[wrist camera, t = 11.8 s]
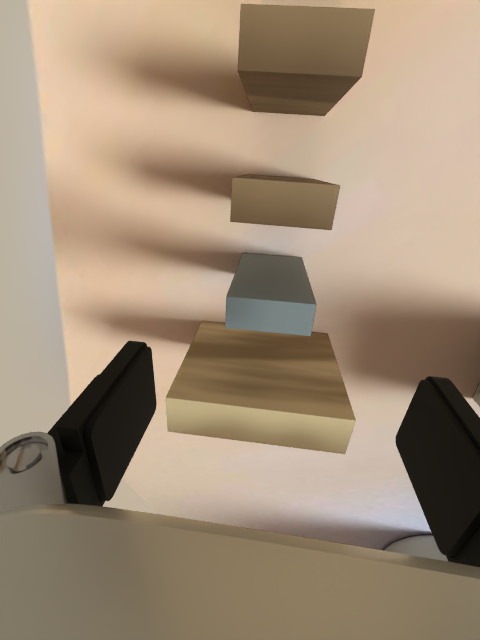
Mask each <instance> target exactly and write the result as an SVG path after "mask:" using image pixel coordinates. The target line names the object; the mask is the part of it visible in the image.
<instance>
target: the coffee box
mask: <svg viewBox="0 0 480 640" xmlns="http://www.w3.org/2000/svg"><path fill="white" fill-rule="evenodd" d="M473 399H474V401H475V402H476V403H477V404H478V405H479V406H480V384H479V386H478V388H477V390H476V393H475V395H474V397H473Z"/></svg>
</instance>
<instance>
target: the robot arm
mask: <svg viewBox="0 0 480 640" xmlns="http://www.w3.org/2000/svg"><path fill="white" fill-rule="evenodd" d="M155 410H156V393H155V383H154V372H153V361H152V351H151V348H150V347H147V345H146V343H145V342H137V341H128V342H127V343H126V344H125V345H124V347H123V348H122V349H121V350H120V351H119V353H118V354H117V355H116V356H115V357H114V359H113V360H112V361H111V362H110V363H109V364H108V366H107V367H106V368H105V369H104V370H103V372H102V373H101V374H99V375H97V376H96V377H95V378H94V379H93V380H92V382H91V383H90V384H89V385H88V386H87V387H86V389H85V390H84V391H83V392H82V393H81V394H80V396H79V397H78V398H77V399H76V400H75V401H74V403H73V404H72V405H71V406H70V407H69V408H68V410H67V411H66V412H65V413H64V414H63V415H62V417H61V418H60V419H59V420H58V421H57V422H56V424H55V425H54V426H53V427H52V428H51V430H50V431H49V432H48V433H43V432H30V433H26V434H22V435H20V436H17V437H15V438H13V439H11V440H9V441H8V442H6V443H5V444H3V445H2V446H1V447H0V640H480V418H479V417H478V415H477V414H476V413H475V411H474V410H473V409H472V408H471V406H470V405H469V404H468V402H467V401H466V400H465V398H464V397H463V396H462V395H461V393H460V392H459V391H458V389H457V388H456V387H455V386H454V384H453V383H452V382H451V381H450V380H449V379H447V378H439V377H431V376H429V377H427V378H426V379H425V380H421V381H420V383H419V385H418V387H417V389H416V392H415V394H414V396H413V398H412V401H411V403H410V405H409V408H408V410H407V412H406V414H405V417H404V419H403V421H402V423H401V426H400V428H399V430H398V433H397V435H396V446H397V448H398V451H399V453H400V456H401V458H402V461H403V463H404V466H405V468H406V471H407V473H408V475H409V478H410V480H411V483H412V485H413V488H414V490H415V493H416V495H417V498H418V500H419V502H420V505H421V507H422V510H423V512H424V515H425V517H426V520H427V522H428V525H429V527H430V529H431V532H432V534H433V537H434V539H435V542H436V544H437V547H438V549H439V551H440V552H441V553H442V554H443V555H446V557H447V560H448V561H442V560H436V559H430V558H424V557H418V556H412V555H407V554H401V553H395V552H389V551H383V550H377V549H371V548H365V547H359V546H353V545H347V544H341V543H335V542H328V541H322V540H316V539H310V538H304V537H298V536H292V535H285V534H279V533H273V532H267V531H261V530H254V529H248V528H242V527H236V526H229V525H223V524H217V523H210V522H204V521H197V520H191V519H185V518H178V517H172V516H166V515H159V514H152V513H145V512H138V511H131V510H124V509H116V508H109V507H102V506H103V504H104V502H105V501H109V500H111V498H112V497H113V495H114V493H115V491H116V489H117V487H118V485H119V483H120V481H121V479H122V477H123V475H124V473H125V471H126V469H127V467H128V465H129V463H130V461H131V459H132V457H133V455H134V453H135V451H136V449H137V447H138V445H139V443H140V441H141V439H142V437H143V435H144V433H145V431H146V429H147V427H148V425H149V423H150V421H151V419H152V417H153V415H154V413H155Z"/></svg>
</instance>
